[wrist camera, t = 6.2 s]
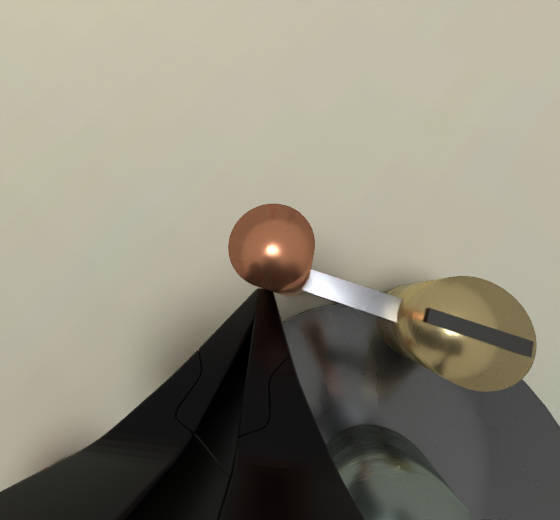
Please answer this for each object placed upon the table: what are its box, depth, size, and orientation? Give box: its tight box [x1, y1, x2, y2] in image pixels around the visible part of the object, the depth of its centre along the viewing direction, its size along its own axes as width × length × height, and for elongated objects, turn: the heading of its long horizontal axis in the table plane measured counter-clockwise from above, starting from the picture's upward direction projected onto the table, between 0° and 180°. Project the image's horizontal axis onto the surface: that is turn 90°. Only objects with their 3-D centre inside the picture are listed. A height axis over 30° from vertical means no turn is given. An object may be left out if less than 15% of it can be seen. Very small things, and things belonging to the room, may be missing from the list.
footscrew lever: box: [228, 204, 536, 392], centre depth 9 cm, size 11×4×8 cm, turn 71°
